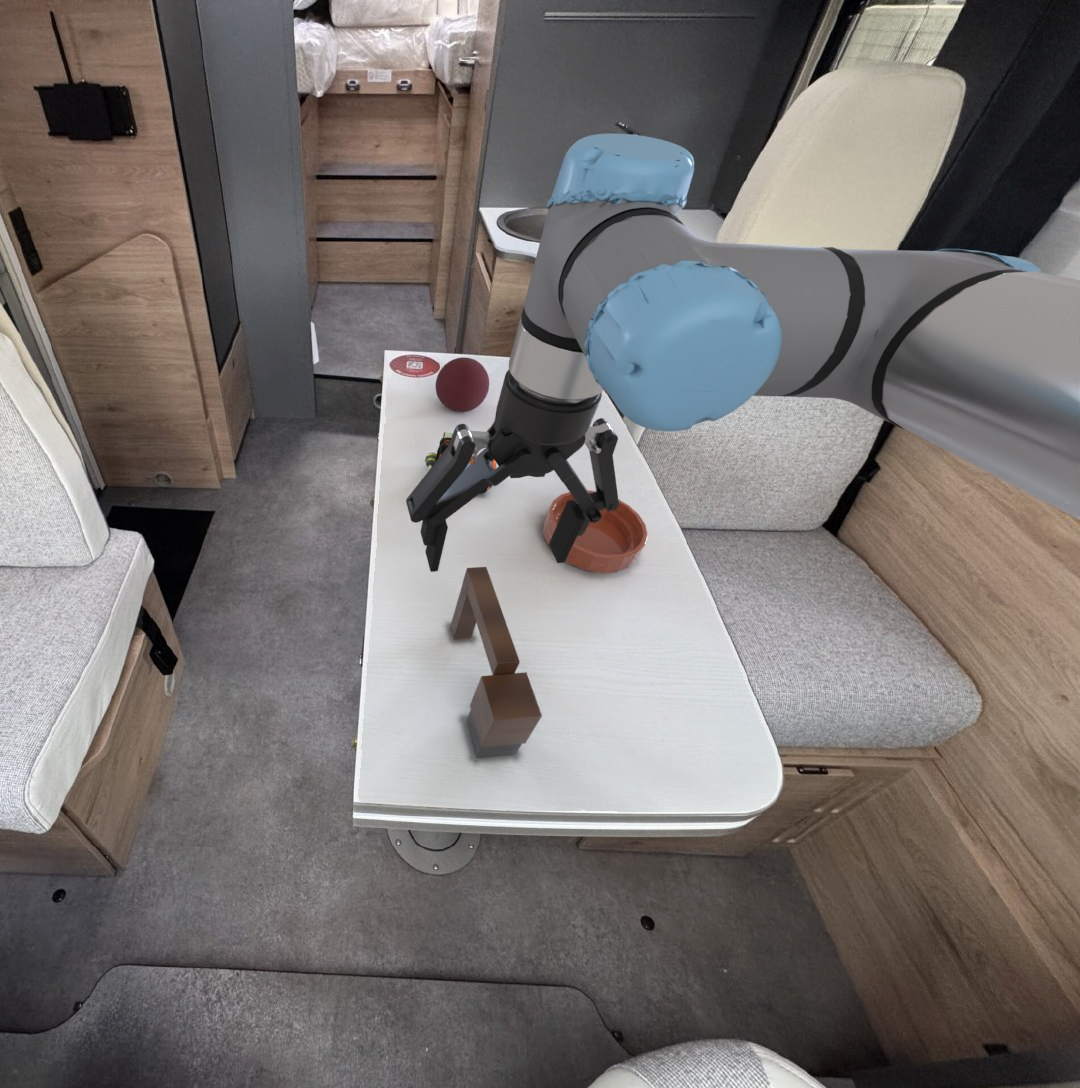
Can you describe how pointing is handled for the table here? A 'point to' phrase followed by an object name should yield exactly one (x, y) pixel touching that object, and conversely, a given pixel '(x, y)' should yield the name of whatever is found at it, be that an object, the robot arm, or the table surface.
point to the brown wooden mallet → (494, 672)
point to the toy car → (444, 443)
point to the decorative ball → (462, 384)
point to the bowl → (602, 537)
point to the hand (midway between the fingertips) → (494, 557)
